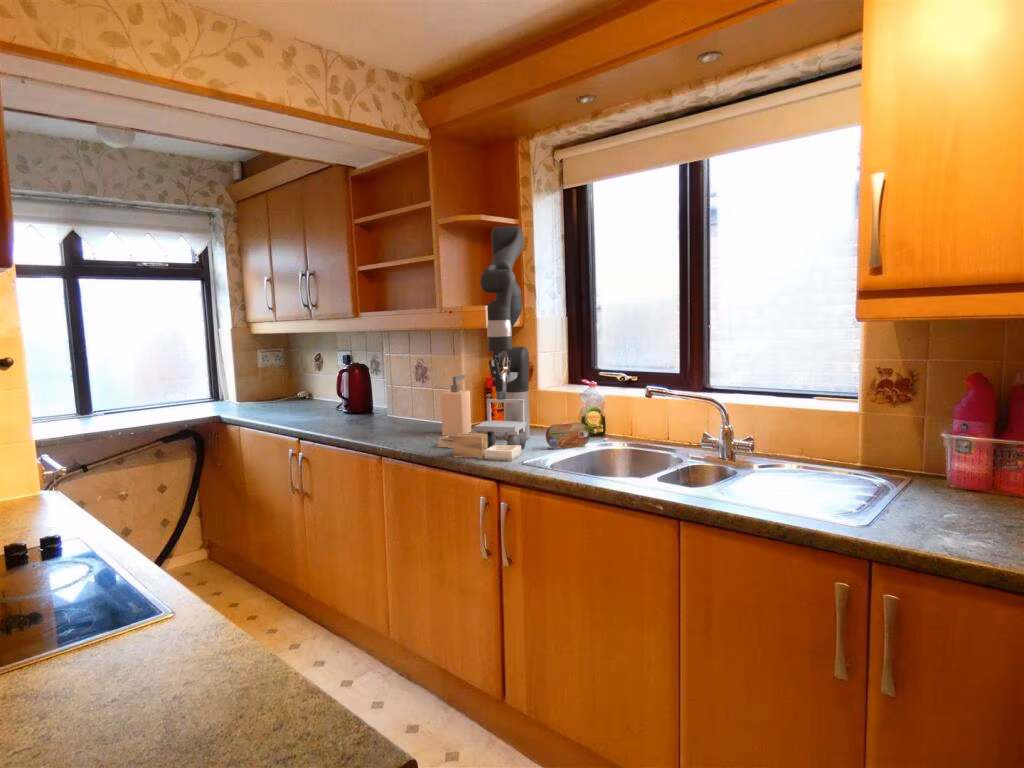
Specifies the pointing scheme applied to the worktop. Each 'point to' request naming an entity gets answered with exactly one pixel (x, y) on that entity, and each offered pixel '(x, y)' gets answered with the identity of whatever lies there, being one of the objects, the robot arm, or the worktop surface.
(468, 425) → the soap dispenser
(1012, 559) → the worktop surface
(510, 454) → the tray
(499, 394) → the pin
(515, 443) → the trolley
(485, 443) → the block
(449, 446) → the pin block
